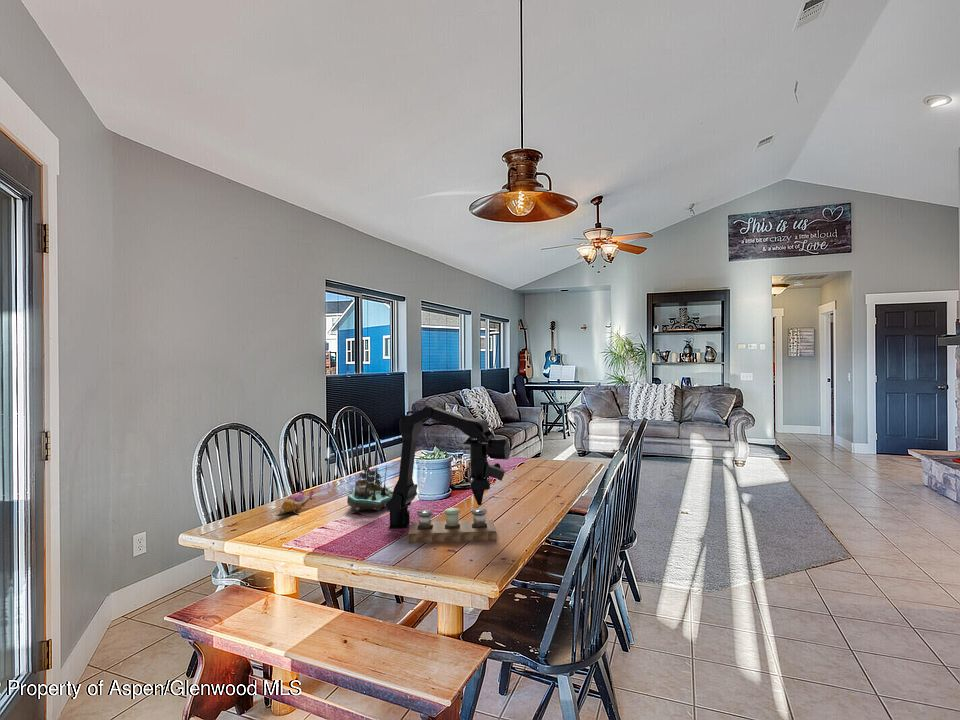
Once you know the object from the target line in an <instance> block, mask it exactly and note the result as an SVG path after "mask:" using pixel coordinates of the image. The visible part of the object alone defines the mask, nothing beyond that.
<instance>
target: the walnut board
mask: <svg viewBox="0 0 960 720" xmlns="http://www.w3.org/2000/svg"><path fill="white" fill-rule="evenodd" d="M410 523H411V524H410V527H409V531H408V535H407V537H408V544H421V543H424V544H426V543H453V542H454V543H455V542H456V543H458V542H459V543H462V542H482V541H483V542H491V541H493V542H495V541H496V542H497V532H496V531H497V530H496V526H495V521H494V519H485V526H474V525H473V520H458V525H456V526H448V525H446V520H444V521H443V520H442V521H441V520H440V521H431V527H429V528H420V527H419V521H411V522H410Z"/></svg>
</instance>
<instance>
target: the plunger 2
mask: <svg viewBox="0 0 960 720" xmlns="http://www.w3.org/2000/svg"><path fill="white" fill-rule="evenodd" d="M487 512H488V510H487V509H486V508H482V507H481V508H480V507H479V508H473V509H471V514H472V517H473V520H472V521H473V525H474V526H485V520H486V514H487Z"/></svg>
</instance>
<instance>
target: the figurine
mask: <svg viewBox="0 0 960 720" xmlns="http://www.w3.org/2000/svg"><path fill="white" fill-rule="evenodd" d="M314 491H315V490H312V489H311V490H310V492H309V493H308V495H305V492H303V490H302V489H300V491H299V492H298V493H292V494H290V496H289V497H288V498H287V496H285V497H284V498H283V499H282V501H283V502H282V505H281V509H282V510H283V511H281V512H280V513H278V514H277V516H280V515H281V516H282V515H284V514H287V513H294V514H296V515H299V516H300V514H299V513H297V512H296V511H298V510H299V509H300V508H304V507H305V506H306V504H303V503H305V502H306V501H307V500H308V501H309V500H310V501H311V500H312V499H311V498H312V497H313V495H314Z"/></svg>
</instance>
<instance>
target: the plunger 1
mask: <svg viewBox="0 0 960 720" xmlns="http://www.w3.org/2000/svg"><path fill="white" fill-rule="evenodd" d="M416 513H417V514H416V515H417V516H418V522H419V527H420V528H429V527H431V522H432V516H433V510H431V509H422V510H421V509H420V510H418V511H416Z"/></svg>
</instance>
